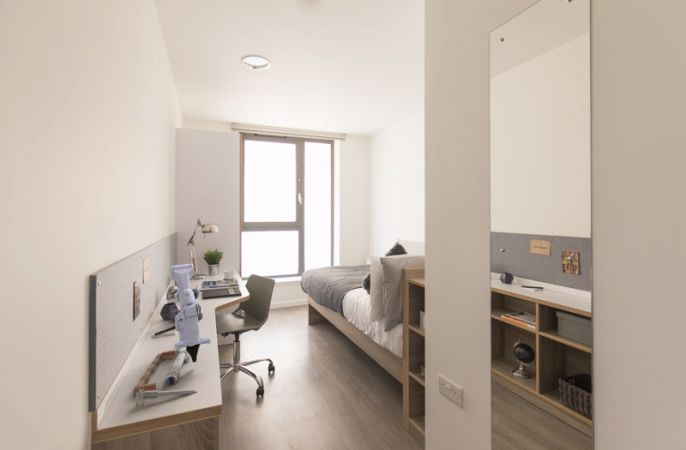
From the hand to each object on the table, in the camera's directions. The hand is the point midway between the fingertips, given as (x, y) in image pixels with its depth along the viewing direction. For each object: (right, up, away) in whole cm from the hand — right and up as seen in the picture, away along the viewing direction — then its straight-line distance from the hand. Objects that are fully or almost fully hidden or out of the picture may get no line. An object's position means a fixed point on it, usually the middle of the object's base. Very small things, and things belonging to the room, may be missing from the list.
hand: (194, 361), depth 149 cm
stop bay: (-14, -4, -3) cm, 15 cm away
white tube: (-6, -4, -2) cm, 7 cm away
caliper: (0, -5, -23) cm, 24 cm away
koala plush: (-32, 0, +66) cm, 74 cm away
